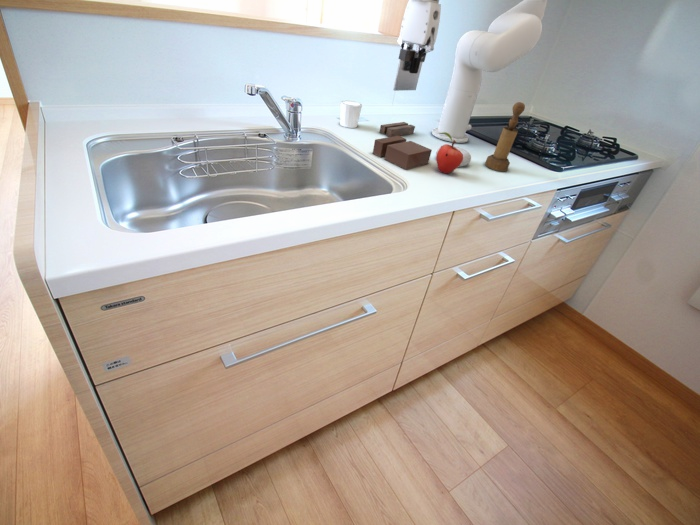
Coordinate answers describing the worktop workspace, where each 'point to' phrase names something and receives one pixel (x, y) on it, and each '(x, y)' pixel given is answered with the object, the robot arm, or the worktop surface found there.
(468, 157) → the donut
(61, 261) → the worktop surface
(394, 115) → the worktop surface
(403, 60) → the dough scraper
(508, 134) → the mortar and pestle
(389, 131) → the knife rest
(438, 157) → the apple
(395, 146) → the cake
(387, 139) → the brown rectangular bar
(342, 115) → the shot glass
